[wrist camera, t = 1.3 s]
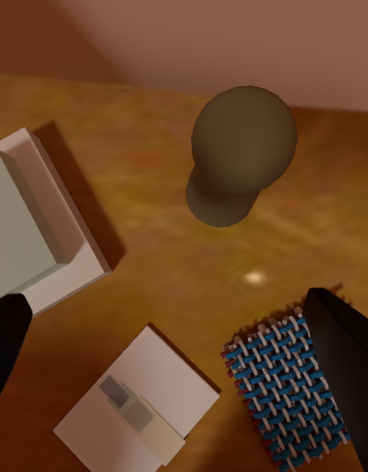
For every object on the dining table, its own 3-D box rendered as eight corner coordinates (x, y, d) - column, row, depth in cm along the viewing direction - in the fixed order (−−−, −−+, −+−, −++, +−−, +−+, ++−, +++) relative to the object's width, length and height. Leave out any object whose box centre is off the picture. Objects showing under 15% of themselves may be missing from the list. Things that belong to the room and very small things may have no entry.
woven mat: (213, 342, 21) (215, 351, 19) (325, 288, 21) (339, 291, 19) (270, 465, 20) (279, 488, 18) (387, 406, 20) (409, 422, 18)
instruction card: (222, 397, 20) (222, 399, 20) (128, 506, 19) (127, 511, 19) (147, 324, 21) (146, 325, 21) (54, 428, 20) (52, 431, 20)
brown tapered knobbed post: (245, 153, 22) (298, 48, 11) (262, 218, 22) (336, 173, 11) (179, 168, 22) (169, 77, 11) (194, 234, 22) (199, 204, 11)
